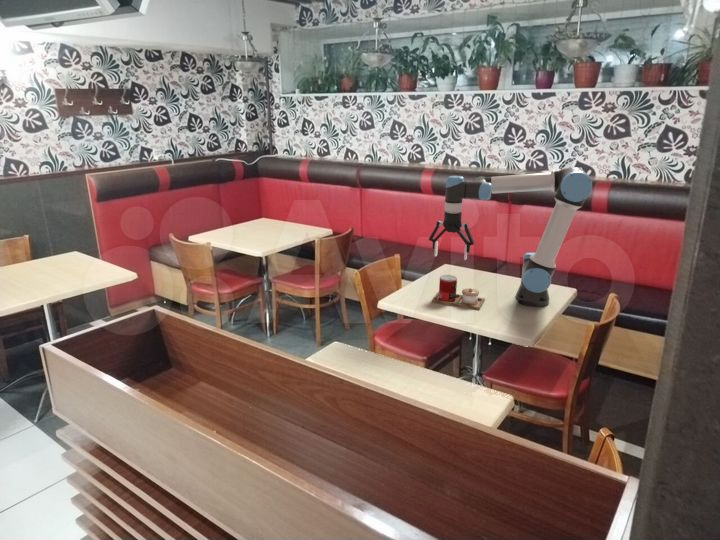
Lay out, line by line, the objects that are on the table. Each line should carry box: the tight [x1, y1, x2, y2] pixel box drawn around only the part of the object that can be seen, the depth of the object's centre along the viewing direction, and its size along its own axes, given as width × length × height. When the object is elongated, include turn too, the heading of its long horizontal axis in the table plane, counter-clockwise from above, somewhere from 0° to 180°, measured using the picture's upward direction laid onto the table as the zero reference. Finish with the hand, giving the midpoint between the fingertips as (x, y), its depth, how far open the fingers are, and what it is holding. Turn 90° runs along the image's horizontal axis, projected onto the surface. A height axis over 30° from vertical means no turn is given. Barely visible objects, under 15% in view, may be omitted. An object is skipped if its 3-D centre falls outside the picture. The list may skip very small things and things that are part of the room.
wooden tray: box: [431, 291, 486, 311], centre depth 248 cm, size 22×12×2 cm, turn 67°
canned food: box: [438, 274, 458, 302], centre depth 248 cm, size 8×8×11 cm
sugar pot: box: [461, 287, 480, 306], centre depth 244 cm, size 8×8×7 cm
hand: (450, 257), depth 243 cm, fingers open, 13 cm apart
